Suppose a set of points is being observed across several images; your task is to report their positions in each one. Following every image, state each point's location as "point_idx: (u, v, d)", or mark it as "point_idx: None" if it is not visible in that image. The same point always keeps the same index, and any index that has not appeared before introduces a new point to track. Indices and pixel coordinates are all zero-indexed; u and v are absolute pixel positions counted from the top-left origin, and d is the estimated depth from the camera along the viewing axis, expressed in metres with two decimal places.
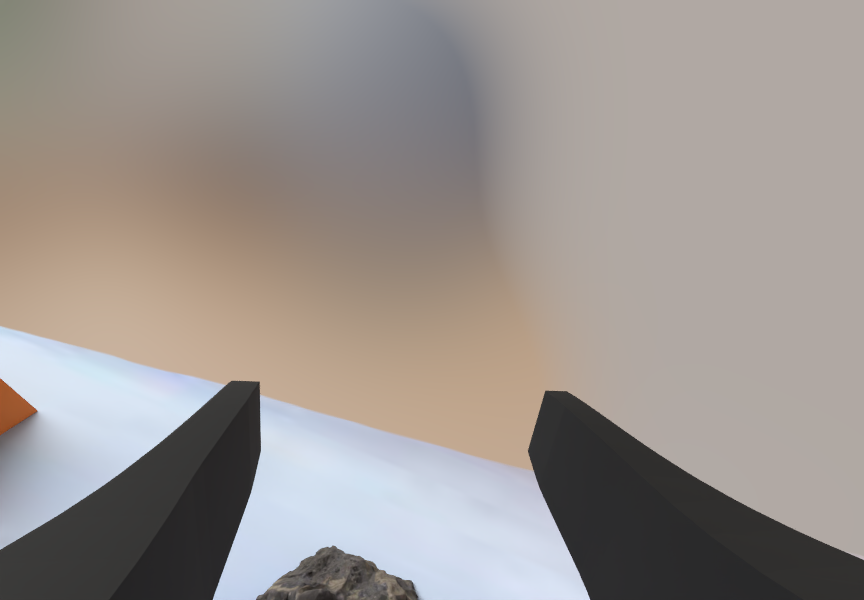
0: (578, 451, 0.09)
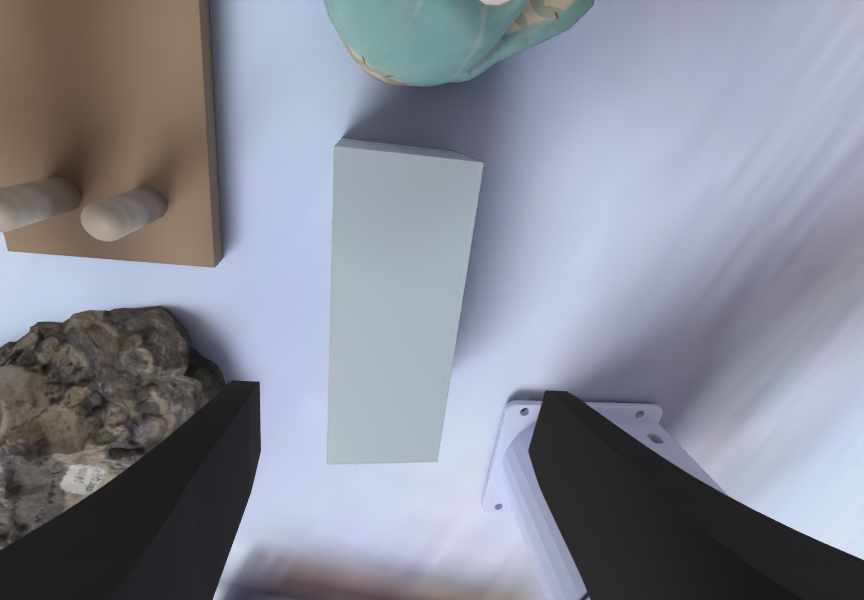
0: (579, 452, 0.09)
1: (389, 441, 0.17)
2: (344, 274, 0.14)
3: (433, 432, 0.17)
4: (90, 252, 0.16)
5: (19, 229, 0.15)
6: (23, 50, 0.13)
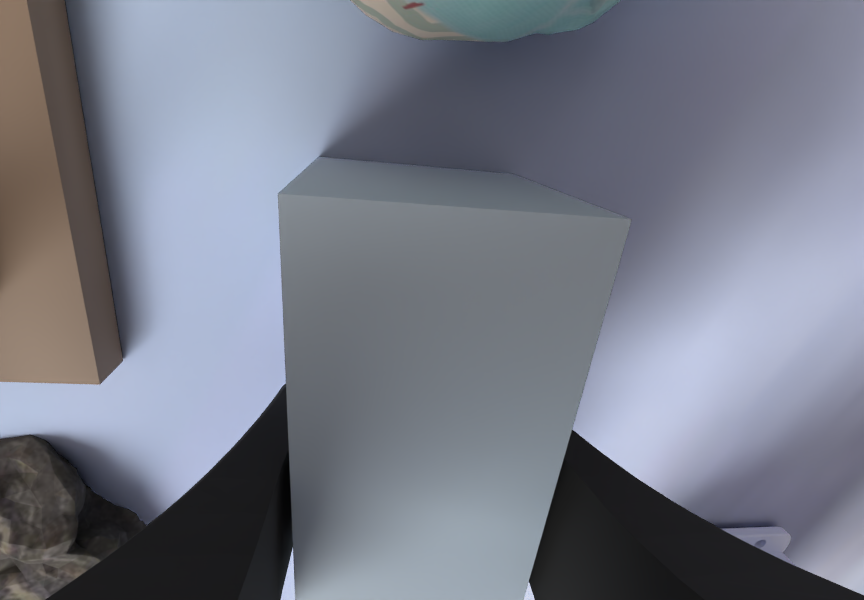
0: None
1: None
2: (317, 456, 0.06)
3: None
4: None
5: None
6: None
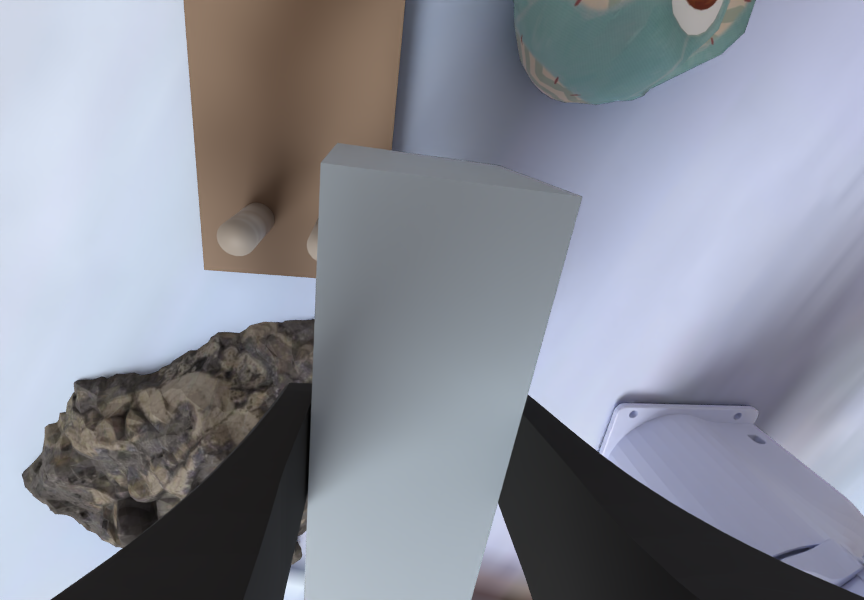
0: (525, 451, 0.09)
1: (397, 599, 0.11)
2: (334, 374, 0.08)
3: (463, 583, 0.11)
4: (274, 270, 0.17)
5: (217, 250, 0.17)
6: (246, 92, 0.15)
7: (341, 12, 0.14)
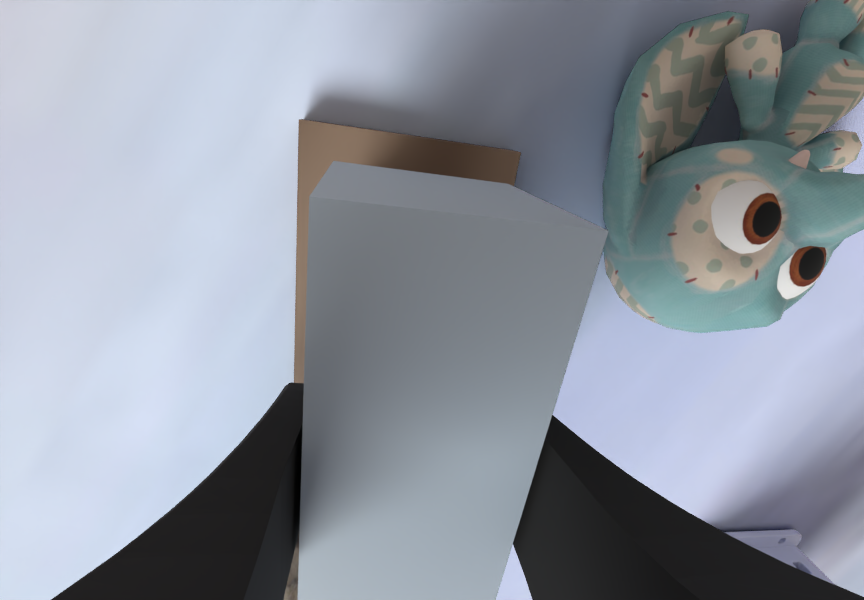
0: None
1: None
2: (326, 428, 0.07)
3: None
4: None
5: None
6: None
7: None
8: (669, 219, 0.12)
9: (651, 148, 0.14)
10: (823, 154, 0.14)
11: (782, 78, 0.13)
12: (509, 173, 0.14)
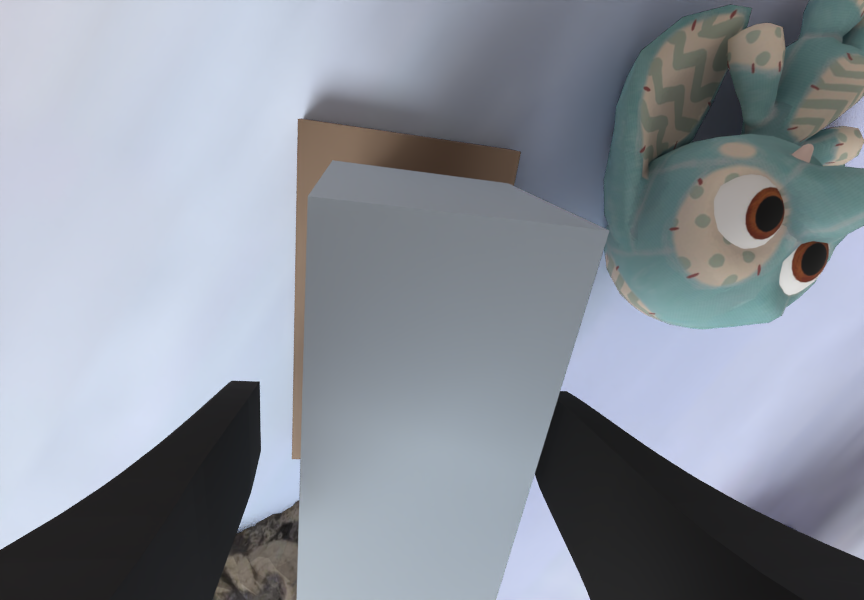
0: (578, 451, 0.09)
1: None
2: (326, 429, 0.07)
3: None
4: None
5: None
6: None
7: None
8: (671, 214, 0.12)
9: (653, 142, 0.14)
10: (825, 150, 0.14)
11: (785, 72, 0.13)
12: (509, 173, 0.14)
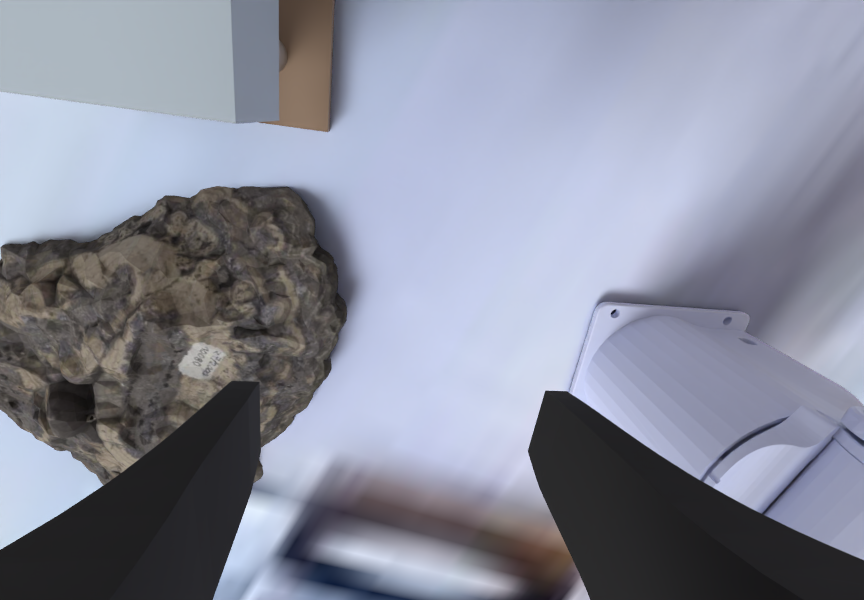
0: (579, 452, 0.09)
1: (111, 43, 0.08)
2: None
3: (211, 31, 0.08)
4: None
5: None
6: None
7: None
8: None
9: None
10: None
11: None
12: None
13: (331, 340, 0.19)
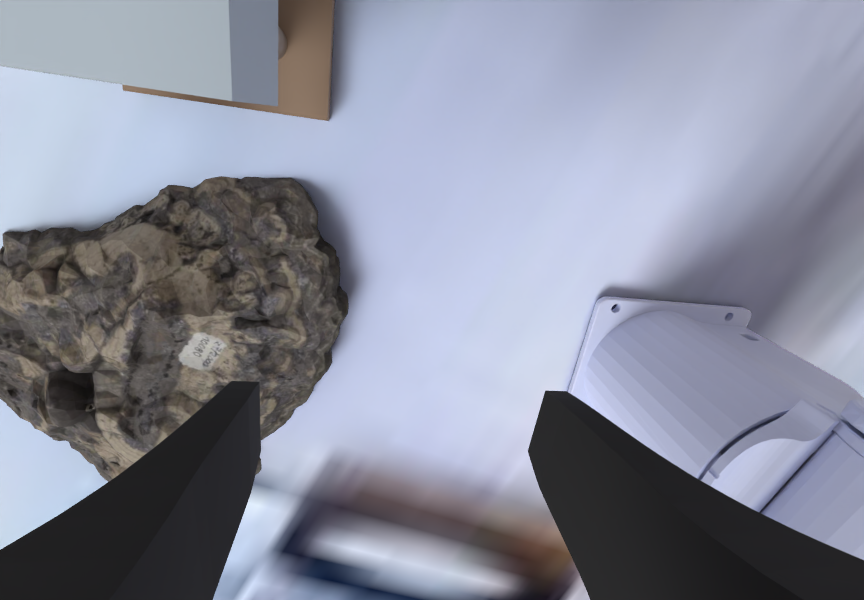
0: (579, 452, 0.09)
1: (107, 16, 0.08)
2: None
3: (208, 6, 0.08)
4: None
5: None
6: None
7: None
8: None
9: None
10: None
11: None
12: None
13: (332, 333, 0.19)
